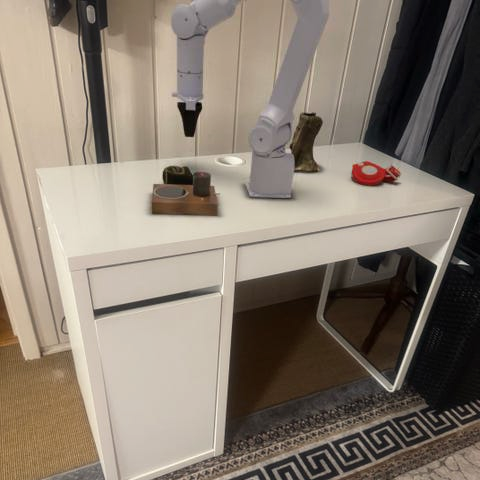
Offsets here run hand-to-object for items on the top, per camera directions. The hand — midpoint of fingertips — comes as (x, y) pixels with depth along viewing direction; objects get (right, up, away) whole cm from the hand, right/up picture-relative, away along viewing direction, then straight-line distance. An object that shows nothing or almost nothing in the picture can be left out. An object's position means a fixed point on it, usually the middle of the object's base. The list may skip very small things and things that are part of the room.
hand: (189, 136), depth 109 cm
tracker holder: (+46, -8, +10) cm, 48 cm away
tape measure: (-2, -13, -3) cm, 13 cm away
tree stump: (+28, -3, +15) cm, 32 cm away
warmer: (0, -19, -12) cm, 23 cm away
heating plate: (-2, -17, -14) cm, 22 cm away
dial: (+4, -17, -13) cm, 22 cm away
